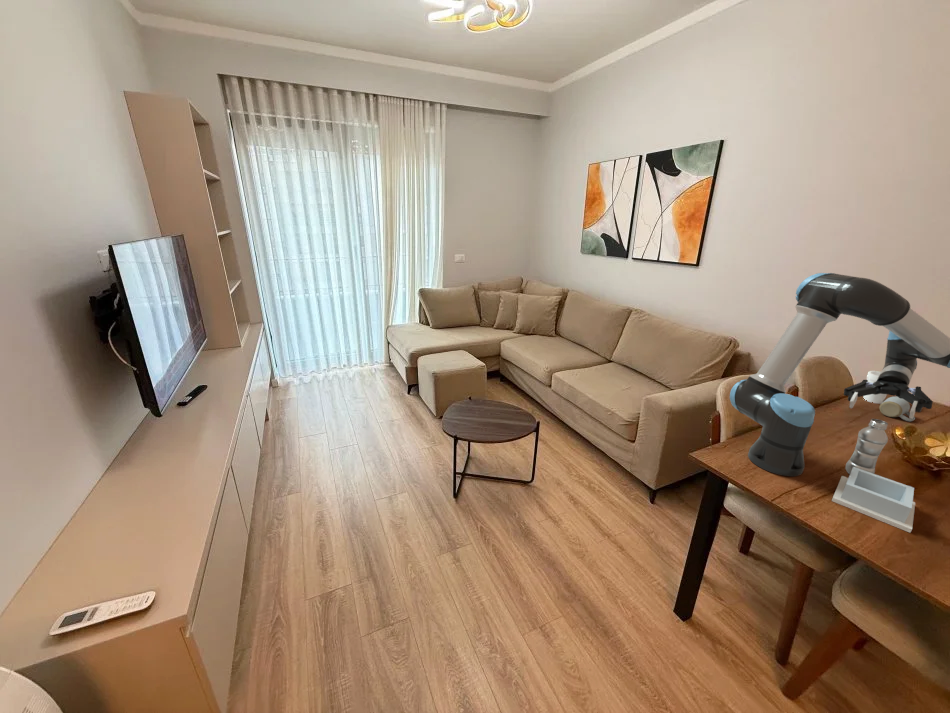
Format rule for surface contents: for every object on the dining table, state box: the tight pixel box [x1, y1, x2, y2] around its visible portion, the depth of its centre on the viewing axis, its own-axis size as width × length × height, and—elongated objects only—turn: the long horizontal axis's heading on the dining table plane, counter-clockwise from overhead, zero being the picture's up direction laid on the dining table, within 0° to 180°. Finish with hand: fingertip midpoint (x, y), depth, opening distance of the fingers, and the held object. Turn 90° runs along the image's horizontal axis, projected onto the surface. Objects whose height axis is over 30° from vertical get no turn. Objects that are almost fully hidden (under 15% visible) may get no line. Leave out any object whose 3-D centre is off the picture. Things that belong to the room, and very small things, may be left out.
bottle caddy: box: [831, 467, 916, 533], centre depth 112 cm, size 16×16×6 cm
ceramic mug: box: [879, 395, 916, 423], centre depth 163 cm, size 11×8×8 cm
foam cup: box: [862, 370, 888, 405], centre depth 176 cm, size 10×9×13 cm
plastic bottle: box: [845, 418, 889, 475], centre depth 121 cm, size 6×7×20 cm
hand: (879, 409), depth 124 cm, fingers open, 13 cm apart
